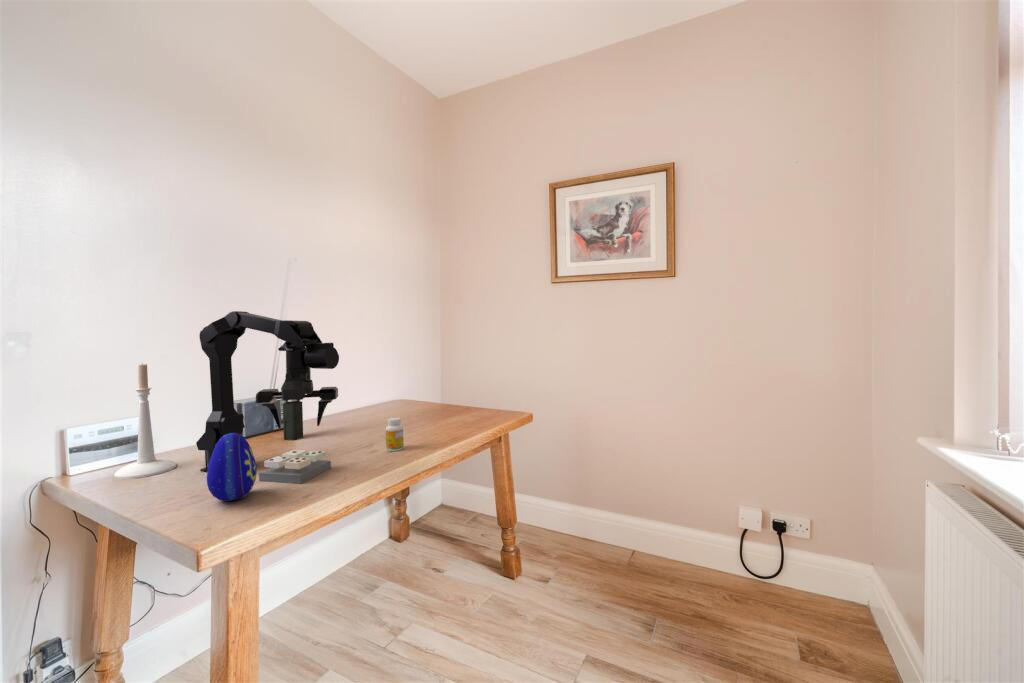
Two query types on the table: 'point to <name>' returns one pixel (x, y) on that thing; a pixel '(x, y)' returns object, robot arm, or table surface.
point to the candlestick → (144, 438)
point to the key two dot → (276, 462)
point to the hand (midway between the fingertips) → (299, 426)
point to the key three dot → (314, 455)
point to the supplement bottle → (394, 435)
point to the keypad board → (295, 473)
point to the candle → (292, 420)
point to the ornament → (231, 468)
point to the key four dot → (297, 463)
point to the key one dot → (294, 453)
